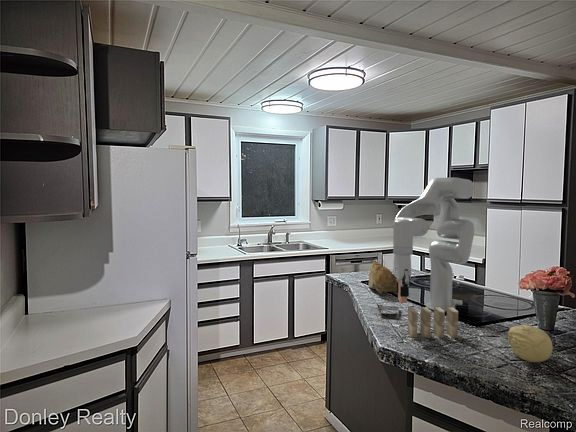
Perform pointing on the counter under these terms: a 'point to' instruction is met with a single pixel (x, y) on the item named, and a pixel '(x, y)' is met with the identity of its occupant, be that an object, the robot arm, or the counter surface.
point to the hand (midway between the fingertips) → (402, 293)
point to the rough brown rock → (382, 279)
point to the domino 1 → (401, 299)
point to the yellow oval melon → (530, 343)
